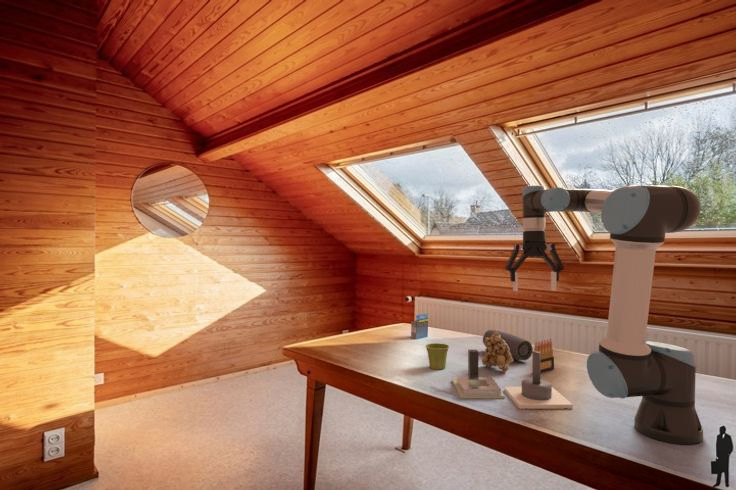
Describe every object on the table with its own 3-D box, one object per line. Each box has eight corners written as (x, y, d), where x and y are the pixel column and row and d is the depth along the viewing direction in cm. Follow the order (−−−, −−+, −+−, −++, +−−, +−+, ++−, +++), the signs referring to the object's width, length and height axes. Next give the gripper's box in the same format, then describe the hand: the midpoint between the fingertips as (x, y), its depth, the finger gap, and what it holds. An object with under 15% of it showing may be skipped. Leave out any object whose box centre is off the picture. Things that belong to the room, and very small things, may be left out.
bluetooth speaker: (534, 362, 184) (534, 338, 184) (515, 364, 181) (515, 340, 180) (498, 349, 205) (498, 327, 205) (481, 351, 202) (481, 329, 202)
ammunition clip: (536, 374, 168) (536, 342, 168) (532, 373, 170) (532, 341, 169) (554, 369, 174) (554, 338, 174) (550, 368, 175) (550, 337, 175)
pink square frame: (500, 395, 144) (500, 361, 144) (463, 395, 145) (463, 361, 144) (489, 380, 159) (489, 349, 159) (455, 380, 159) (455, 349, 159)
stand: (572, 408, 135) (572, 359, 135) (519, 408, 135) (519, 359, 135) (551, 390, 151) (551, 345, 151) (504, 390, 151) (504, 346, 151)
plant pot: (422, 369, 176) (421, 347, 175) (430, 363, 184) (430, 342, 184) (445, 372, 171) (444, 350, 171) (452, 366, 180) (452, 344, 179)
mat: (504, 398, 144) (504, 395, 144) (460, 398, 144) (460, 395, 144) (491, 381, 161) (491, 378, 161) (451, 381, 161) (451, 378, 161)
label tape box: (422, 335, 234) (422, 312, 234) (428, 337, 231) (428, 313, 231) (410, 338, 228) (410, 314, 228) (416, 339, 225) (416, 315, 225)
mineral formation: (491, 364, 182) (491, 327, 182) (518, 372, 171) (518, 333, 170) (477, 367, 178) (477, 329, 177) (504, 376, 166) (503, 335, 166)
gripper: (564, 230, 161) (564, 289, 161) (495, 231, 161) (496, 289, 161) (574, 229, 154) (574, 291, 154) (502, 230, 153) (502, 292, 154)
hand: (534, 290), depth 157 cm, fingers open, 13 cm apart
